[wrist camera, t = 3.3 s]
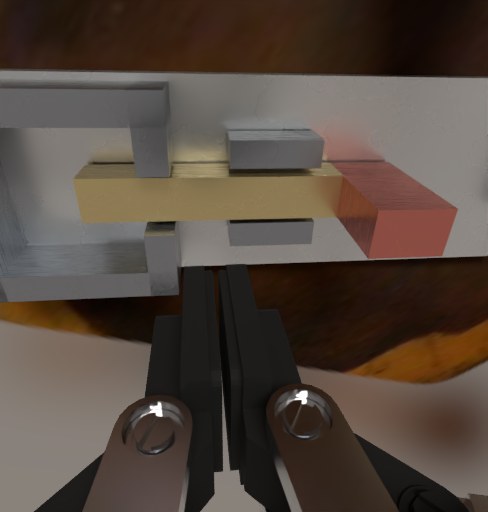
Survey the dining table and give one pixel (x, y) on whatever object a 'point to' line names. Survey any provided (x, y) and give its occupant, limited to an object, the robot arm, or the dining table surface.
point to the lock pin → (278, 200)
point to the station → (215, 152)
